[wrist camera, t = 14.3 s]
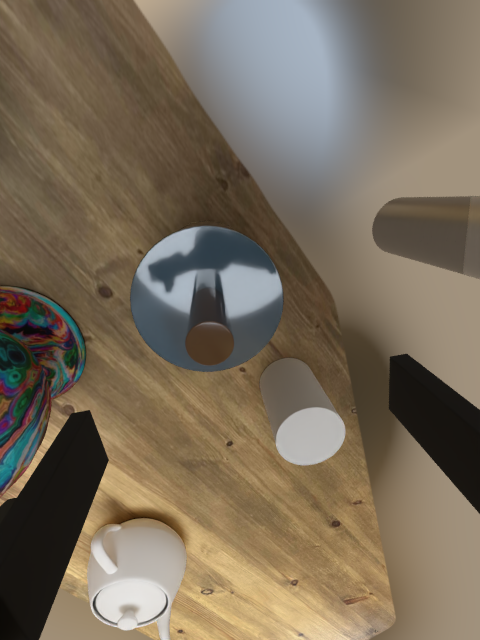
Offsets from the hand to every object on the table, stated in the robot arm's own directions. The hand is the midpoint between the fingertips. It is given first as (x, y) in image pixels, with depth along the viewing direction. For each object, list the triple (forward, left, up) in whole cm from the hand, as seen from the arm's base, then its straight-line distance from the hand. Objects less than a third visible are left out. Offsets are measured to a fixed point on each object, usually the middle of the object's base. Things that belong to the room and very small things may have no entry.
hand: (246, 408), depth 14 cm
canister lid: (+1, -1, -15) cm, 15 cm away
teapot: (+21, +45, -30) cm, 58 cm away
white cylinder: (-7, +18, -30) cm, 35 cm away
